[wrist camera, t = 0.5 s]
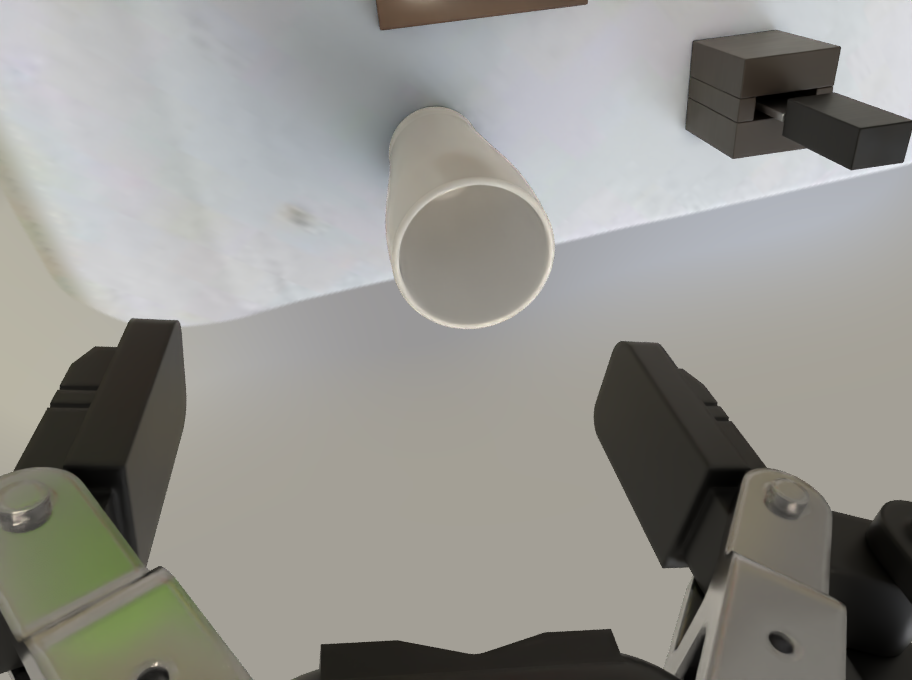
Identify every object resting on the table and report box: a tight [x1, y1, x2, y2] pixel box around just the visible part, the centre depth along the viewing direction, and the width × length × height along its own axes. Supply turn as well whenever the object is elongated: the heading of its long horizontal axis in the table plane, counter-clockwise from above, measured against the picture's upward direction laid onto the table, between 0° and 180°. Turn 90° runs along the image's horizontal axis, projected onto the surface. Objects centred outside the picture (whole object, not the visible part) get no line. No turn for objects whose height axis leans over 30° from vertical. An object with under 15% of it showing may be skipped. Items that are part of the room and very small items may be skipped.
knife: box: [755, 91, 912, 170], centre depth 34 cm, size 2×3×14 cm
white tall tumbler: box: [385, 107, 555, 329], centre depth 33 cm, size 7×7×15 cm
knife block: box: [686, 30, 841, 159], centre depth 37 cm, size 5×5×6 cm
